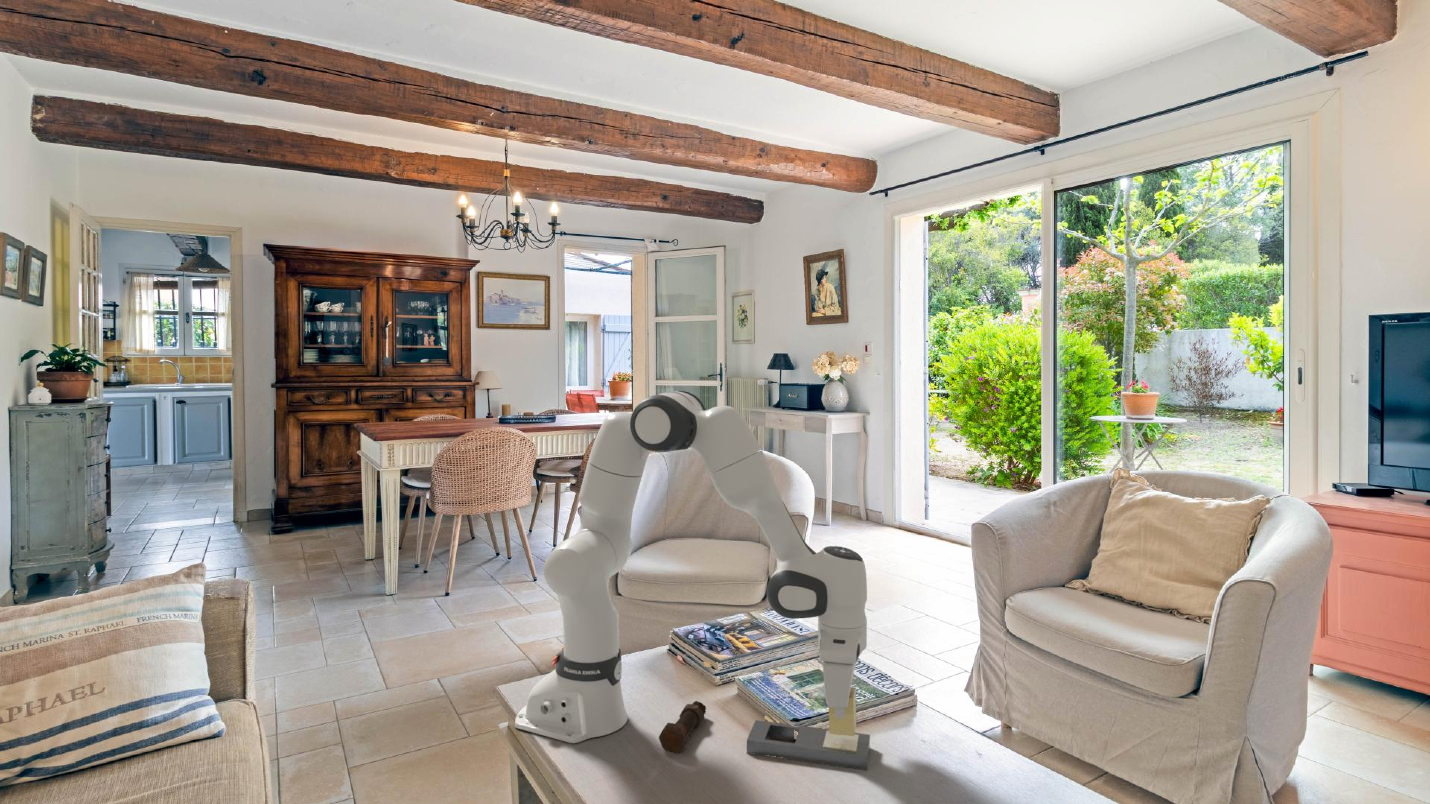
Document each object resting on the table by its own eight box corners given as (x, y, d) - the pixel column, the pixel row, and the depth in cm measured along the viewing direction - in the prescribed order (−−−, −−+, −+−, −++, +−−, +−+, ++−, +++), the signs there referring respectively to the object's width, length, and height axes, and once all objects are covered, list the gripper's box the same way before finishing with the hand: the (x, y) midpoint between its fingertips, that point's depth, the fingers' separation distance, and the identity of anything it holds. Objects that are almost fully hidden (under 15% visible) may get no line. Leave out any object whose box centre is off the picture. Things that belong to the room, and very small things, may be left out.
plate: (746, 753, 138) (746, 739, 138) (755, 732, 146) (755, 719, 146) (867, 770, 132) (867, 755, 132) (869, 747, 140) (869, 733, 140)
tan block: (829, 733, 136) (828, 696, 135) (832, 722, 140) (831, 685, 140) (854, 736, 134) (853, 698, 134) (856, 724, 139) (855, 687, 138)
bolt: (702, 726, 152) (675, 761, 138) (683, 711, 154) (654, 744, 139) (716, 704, 151) (690, 737, 137) (696, 688, 153) (668, 720, 138)
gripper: (831, 615, 147) (830, 684, 148) (818, 655, 127) (817, 733, 128) (863, 618, 145) (863, 687, 146) (855, 659, 126) (855, 738, 126)
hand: (841, 709), depth 137 cm, fingers closed on tan block, 4 cm apart
